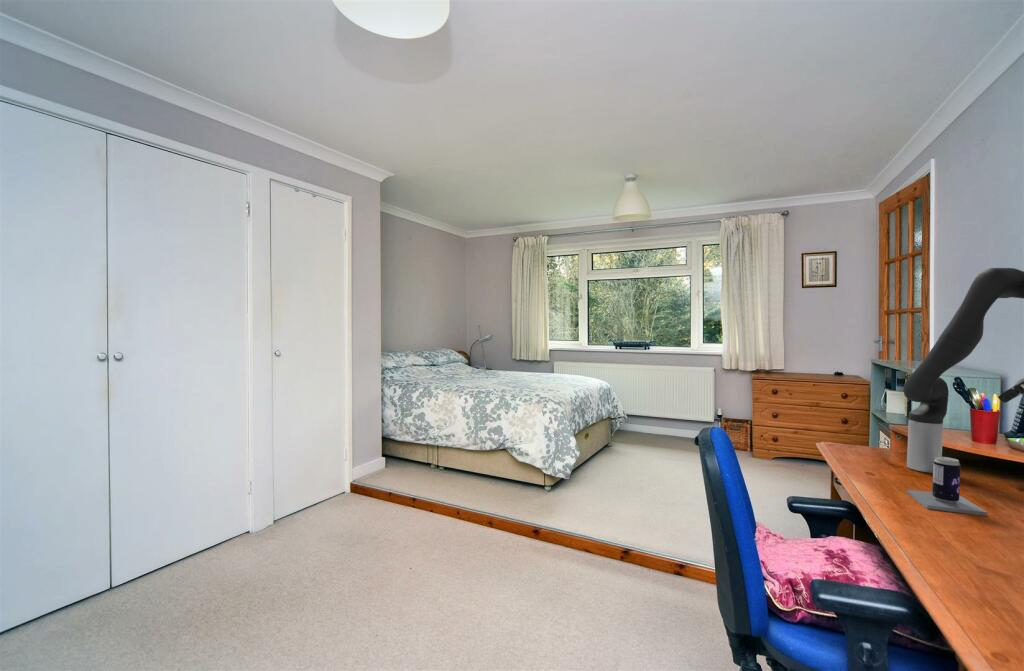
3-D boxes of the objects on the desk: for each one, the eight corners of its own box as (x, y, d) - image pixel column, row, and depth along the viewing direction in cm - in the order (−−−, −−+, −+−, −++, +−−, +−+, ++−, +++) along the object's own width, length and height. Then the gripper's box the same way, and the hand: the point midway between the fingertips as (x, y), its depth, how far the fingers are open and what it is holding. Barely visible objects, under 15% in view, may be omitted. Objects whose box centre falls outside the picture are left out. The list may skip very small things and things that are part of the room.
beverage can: (954, 505, 131) (955, 462, 131) (928, 498, 136) (930, 457, 136) (962, 502, 134) (964, 460, 133) (937, 495, 139) (938, 455, 138)
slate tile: (906, 493, 143) (906, 489, 143) (960, 499, 139) (960, 495, 139) (927, 508, 131) (927, 505, 131) (987, 515, 126) (987, 512, 126)
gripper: (1053, 350, 130) (992, 386, 140) (1051, 351, 121) (986, 390, 130) (1082, 370, 126) (1017, 406, 136) (1082, 373, 117) (1013, 412, 127)
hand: (1002, 398), depth 133 cm, fingers open, 8 cm apart
